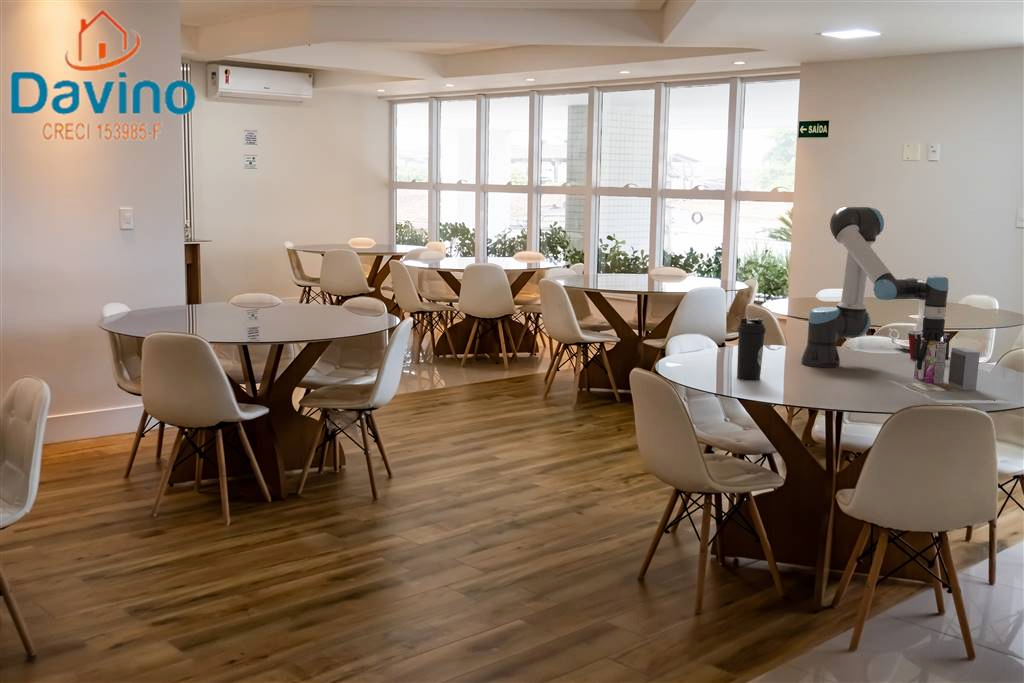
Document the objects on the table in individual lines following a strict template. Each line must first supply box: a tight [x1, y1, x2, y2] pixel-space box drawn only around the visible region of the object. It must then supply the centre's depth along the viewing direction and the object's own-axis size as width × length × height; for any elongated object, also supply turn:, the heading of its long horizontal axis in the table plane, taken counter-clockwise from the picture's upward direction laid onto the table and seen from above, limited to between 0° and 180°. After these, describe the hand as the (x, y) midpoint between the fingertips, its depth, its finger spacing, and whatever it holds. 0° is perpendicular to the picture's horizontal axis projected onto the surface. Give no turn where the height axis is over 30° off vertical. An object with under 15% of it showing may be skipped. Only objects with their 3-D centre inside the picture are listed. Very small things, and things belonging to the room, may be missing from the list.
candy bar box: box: [913, 338, 947, 384], centre depth 375 cm, size 11×5×16 cm, turn 16°
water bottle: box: [736, 316, 767, 382], centre depth 374 cm, size 10×10×23 cm
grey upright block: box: [947, 347, 981, 390], centre depth 363 cm, size 5×10×14 cm, turn 5°
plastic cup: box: [907, 330, 924, 361], centre depth 427 cm, size 11×11×12 cm
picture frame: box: [906, 382, 980, 395], centre depth 364 cm, size 21×13×1 cm, turn 95°
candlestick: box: [888, 299, 925, 351], centre depth 451 cm, size 21×25×28 cm
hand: (928, 378), depth 376 cm, fingers closed on candy bar box, 6 cm apart
